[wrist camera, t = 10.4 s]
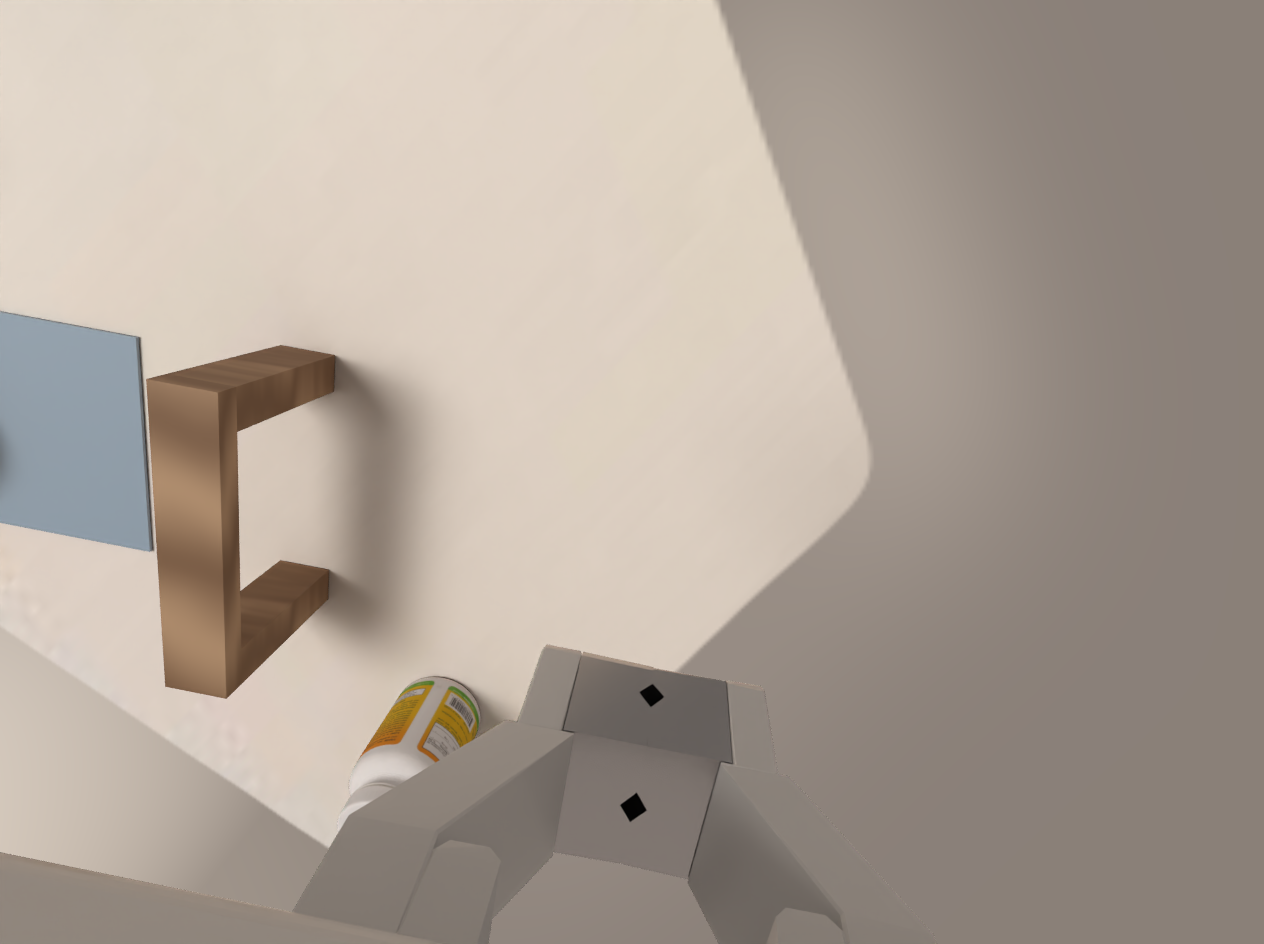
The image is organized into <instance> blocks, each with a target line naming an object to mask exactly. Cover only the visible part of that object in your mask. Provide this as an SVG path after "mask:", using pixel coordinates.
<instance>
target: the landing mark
mask: <svg viewBox="0 0 1264 944" xmlns="http://www.w3.org/2000/svg"><path fill="white" fill-rule="evenodd" d="M0 523H4V524H10V525H15V526H20V527H25V528H30V529H35V530H41V531H46V532H51V533H56V534H61V535H66V536H71V537H77V538H82V539H87V540H92V541H97V542H102V543H107V544H113V545H118V546H123V547H128V548H133V549H138V550H143V551H149V552H150V551H152V538H151V523H150V507H149V492H148V476H147V461H146V445H145V430H144V414H143V399H142V383H141V368H140V352H139V337H136V336H130V335H125V334H119V333H114V332H109V331H103V330H98V329H92V328H87V327H82V326H76V325H71V324H66V323H60V322H55V321H49V320H44V319H39V318H33V317H28V316H23V315H17V314H12V313H6V312H1V311H0Z"/></svg>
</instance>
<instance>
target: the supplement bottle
mask: <svg viewBox="0 0 1264 944" xmlns="http://www.w3.org/2000/svg"><path fill="white" fill-rule="evenodd" d="M479 725H480V711H479V707H478V705H477V702H476V700H475V699H474V697H473V696H472V695H471V693H470V692H469V691H468V690H467V689H466V688H464V687H463V686H462V685H460V684H459V683H457V682H455V681H452V680H449V679H446V678H440V677H428V678H423V679H419V680H417V681H415V682H413V683H411V684H410V685H408V686H407V687H406V688H405V689H404V690H403V692H402V693H401V694H400V696H399V697H398V699H397V700H396V702H395V703H394V705H393V707H392V708H391V710H390V711H389V713H388V714H387V716H386V718H385V719H384V721H383V722H382V724H381V725H380V727H379V728H378V730H377V732H376V733H375V735H374V736H373V738H372V739H371V741H370V742H369V744H368V745H367V747H366V749H365V750H364V752H363V753H362V755H361V756H360V758H359V759H358V761H357V763H356V765H355V766H354V768H353V770H352V773H351V776H350V780H349V793H350V798H349V799H348V801H347V803H346V805H345V806H344V808H343V810H342V811H341V813H340V815H339V818H338V821H337V831H338V833H339V831H340V829H341V827H342V826H343V824H344V822H345V821H346V819H347V817H348V816H349V815H350V814H351V813H353V812H355V811H356V810H358V809H360V808H361V807H363V806H365V805H366V804H368V803H370V802H371V801H373V800H375V799H376V798H378V797H379V796H381V795H383V794H384V793H386V792H388V791H389V790H391V789H393V788H394V787H396V786H398V785H399V784H401V783H403V782H404V781H406V780H408V779H409V778H411V777H412V776H414V775H416V774H417V773H419V772H421V771H422V770H424V769H426V768H427V767H429V766H431V765H432V764H434V763H436V762H437V761H439V760H441V759H442V758H444V757H446V756H447V755H449V754H450V753H452V752H454V751H455V750H457V749H459V748H460V747H462V746H464V745H465V744H467V743H469V742H470V741H472V740H474V738H475V736H476V734H477V731H478V728H479Z"/></svg>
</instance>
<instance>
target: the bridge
mask: <svg viewBox="0 0 1264 944" xmlns="http://www.w3.org/2000/svg"><path fill="white" fill-rule="evenodd" d="M334 371H335V355H331V354H325V353H320V352H314V351H309V350H304V349H298V348H293V347H288V346H282V345H280V346H276V347H272V348H268V349H264V350H260V351H256V352H252V353H248V354H244V355H240V356H236V357H232V358H228V359H224V360H220V361H216V362H212V363H208V364H204V365H200V366H196V367H193V368H189V369H185V370H181V371H177V372H173V373H169V374H165V375H161V376H157V377H153V378H149V379H146V382H147V398H148V414H149V430H150V446H151V463H152V479H153V495H154V511H155V527H156V543H157V559H158V575H159V591H160V607H161V624H162V640H163V656H164V672H165V687H170V688H175V689H180V690H185V691H190V692H195V693H200V694H205V695H210V696H216V697H221V698H226V699H227V698H228V697H229V696H230V695H231V694H232V693H233V692H234V691H235V690H236V689H237V688H238V687H239V686H240V685H241V684H242V683H243V682H244V681H245V680H246V679H247V678H248V677H249V676H250V675H251V674H252V673H253V672H254V671H255V670H256V669H257V668H258V667H259V666H260V665H261V664H262V663H263V662H264V661H265V660H266V659H267V658H268V657H269V656H271V655H272V654H273V653H274V652H275V651H276V650H277V649H278V648H279V647H280V646H281V645H282V644H283V643H284V642H285V641H286V640H287V639H288V638H289V637H290V636H291V635H292V634H293V633H294V632H295V631H296V630H297V629H298V628H299V627H300V626H301V625H302V624H303V623H304V622H305V621H306V620H307V619H308V618H309V617H310V616H311V615H312V614H313V613H314V612H315V611H316V610H318V609H319V608H320V607H321V606H322V605H323V604H324V603H325V602H326V601H327V600H328V586H329V570H327V569H322V568H317V567H311V566H306V565H301V564H296V563H291V562H286V561H281V560H280V561H279V562H278V563H276V564H275V565H274V566H272V567H271V568H270V569H269V570H267V571H266V572H265V573H263V574H262V575H261V576H259V577H258V578H257V579H256V580H254V581H253V582H252V583H250V584H249V585H248V586H247V587H245V588H244V589H243V590H241V591H240V555H239V502H238V450H237V432H238V431H240V430H243V429H245V428H248V427H250V426H252V425H255V424H257V423H260V422H262V421H264V420H267V419H269V418H271V417H274V416H276V415H279V414H281V413H283V412H286V411H288V410H291V409H293V408H295V407H298V406H300V405H303V404H305V403H307V402H310V401H312V400H315V399H317V398H319V397H322V396H324V395H327V394H329V393H331V392H334Z"/></svg>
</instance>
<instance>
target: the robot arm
mask: <svg viewBox="0 0 1264 944" xmlns="http://www.w3.org/2000/svg"><path fill="white" fill-rule="evenodd" d="M553 852H555V853H561V854H568V855H573V856H579V857H585V858H591V859H596V860H602V861H609V862H614V863H621V864H624V865H628V866H633V867H637V868H641V869H646V870H650V871H654V872H659V873H663V874H668V875H672V876H676V877H680V878H685V879H688V884H689V887H690V889H691V890H692V892H693V894H694V896H695V898H696V900H697V902H698V904H699V906H700V908H701V910H702V912H703V914H704V916H705V918H706V920H707V922H708V924H709V926H710V928H711V930H712V932H713V934H714V936H715V938H716V939H717V942H718V943H719V944H937V943H936V940H935V937H934V934H933V933H932V932H931V931H930V930H929V929H928V928H927V927H926V925H925V924H924V923H923V922H922V921H921V920H920V919H919V918H918V917H917V916H916V915H915V913H914V912H913V911H912V910H911V909H910V908H909V907H908V906H907V905H906V904H905V902H904V901H903V900H902V899H901V898H900V897H899V896H898V895H897V894H896V893H895V891H894V890H893V889H892V888H891V887H890V886H889V885H888V884H887V883H886V882H885V880H883V878H882V877H881V876H880V875H879V874H878V873H877V872H876V871H875V870H874V868H873V867H872V866H871V865H870V864H869V863H868V862H867V861H866V860H865V859H864V858H863V856H862V855H861V854H860V853H859V852H858V851H857V850H856V849H855V848H854V846H853V845H852V844H851V843H850V842H849V841H848V840H847V839H846V838H845V837H844V835H842V833H841V832H840V831H839V830H838V829H837V828H836V827H835V826H834V825H833V823H832V822H831V821H830V820H829V819H828V818H827V817H826V816H825V815H824V814H823V813H822V811H821V810H820V809H819V808H818V807H817V806H816V805H815V804H814V803H813V801H811V799H810V798H809V797H808V796H807V795H806V794H805V793H804V792H803V790H802V789H801V788H800V787H799V786H798V785H797V784H796V783H795V782H794V781H793V780H792V778H791V777H790V776H787V775H782V774H778V769H777V764H776V757H775V751H774V745H773V739H772V733H771V727H770V721H769V715H768V709H767V703H766V696H765V691H764V689H763V688H762V687H761V686H757V685H751V684H745V683H739V682H733V681H727V680H725V681H721V680H716V679H711V678H705V677H699V676H694V675H689V674H683V673H678V672H672V671H667V670H661V669H656V668H654V667H651V666H646V665H641V664H637V663H632V662H628V661H623V660H619V659H614V658H609V657H605V656H600V655H596V654H591V653H587V652H583V654H582V653H581V651H577V650H572V649H567V648H562V647H557V646H552V645H546V646H545V647H544V648H543V650H542V652H541V655H540V658H539V661H538V664H537V667H536V669H535V672H534V675H533V678H532V681H531V684H530V686H529V689H528V692H527V695H526V698H525V701H524V704H523V706H522V709H521V712H520V715H519V718H518V721H517V722H515V721H510V720H505V721H503V722H502V723H500V724H498V725H497V726H495V727H493V728H492V729H490V730H488V731H487V732H485V733H484V734H482V735H480V736H479V737H477V738H475V739H474V740H472V741H470V742H469V743H467V744H465V745H464V746H462V747H460V748H459V749H457V750H455V751H454V752H452V753H450V754H449V755H447V756H446V757H444V758H442V759H441V760H439V761H437V762H436V763H434V764H432V765H431V766H429V767H427V768H426V769H424V770H422V771H421V772H419V773H417V774H416V775H414V776H412V777H411V778H409V779H408V780H406V781H404V782H403V783H401V784H399V785H398V786H396V787H394V788H393V789H391V790H389V791H388V792H386V793H384V794H383V795H381V796H379V797H378V798H376V799H375V800H373V801H371V802H370V803H368V804H366V805H365V806H363V807H361V808H360V809H358V810H356V811H355V812H353V813H351V814H350V815H349V816H348V817H347V819H346V821H345V822H344V824H343V826H342V827H341V829H340V831H339V833H338V834H337V836H336V838H335V839H334V841H333V843H332V845H331V846H330V848H329V850H328V852H327V853H326V855H325V856H324V858H323V860H322V862H321V863H320V865H319V867H318V869H317V870H316V872H315V874H314V875H313V877H312V879H311V880H310V882H309V884H308V885H307V887H306V889H305V891H304V892H303V894H302V896H301V897H300V899H299V901H298V903H297V904H296V906H295V908H294V909H293V911H292V912H290V911H285V910H280V909H275V908H270V907H265V906H260V905H255V904H251V903H246V902H241V901H236V900H231V899H226V898H221V897H216V896H211V895H206V894H201V893H197V892H192V891H186V890H182V889H177V888H172V887H167V886H163V885H158V884H153V883H148V882H143V881H138V880H133V879H128V878H123V877H119V876H114V875H109V874H104V873H99V872H94V871H89V870H84V869H79V868H74V867H69V866H65V865H59V864H55V863H50V862H45V861H40V860H35V859H30V858H26V857H21V856H16V855H11V854H6V853H1V852H0V944H488V943H489V937H490V931H491V924H492V919H493V918H494V917H495V916H496V915H497V914H498V913H499V912H500V911H501V910H502V908H504V906H505V905H506V904H507V903H508V902H509V901H510V900H511V899H512V898H513V897H514V896H515V895H516V894H517V893H518V892H519V891H520V890H521V889H522V888H523V887H524V886H525V884H527V882H528V881H529V880H530V879H531V878H532V877H533V876H534V875H535V874H536V873H537V872H538V871H539V870H540V869H541V868H542V867H543V865H545V863H547V862H548V860H549V859H550V858H551V857H552V856H553Z"/></svg>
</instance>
